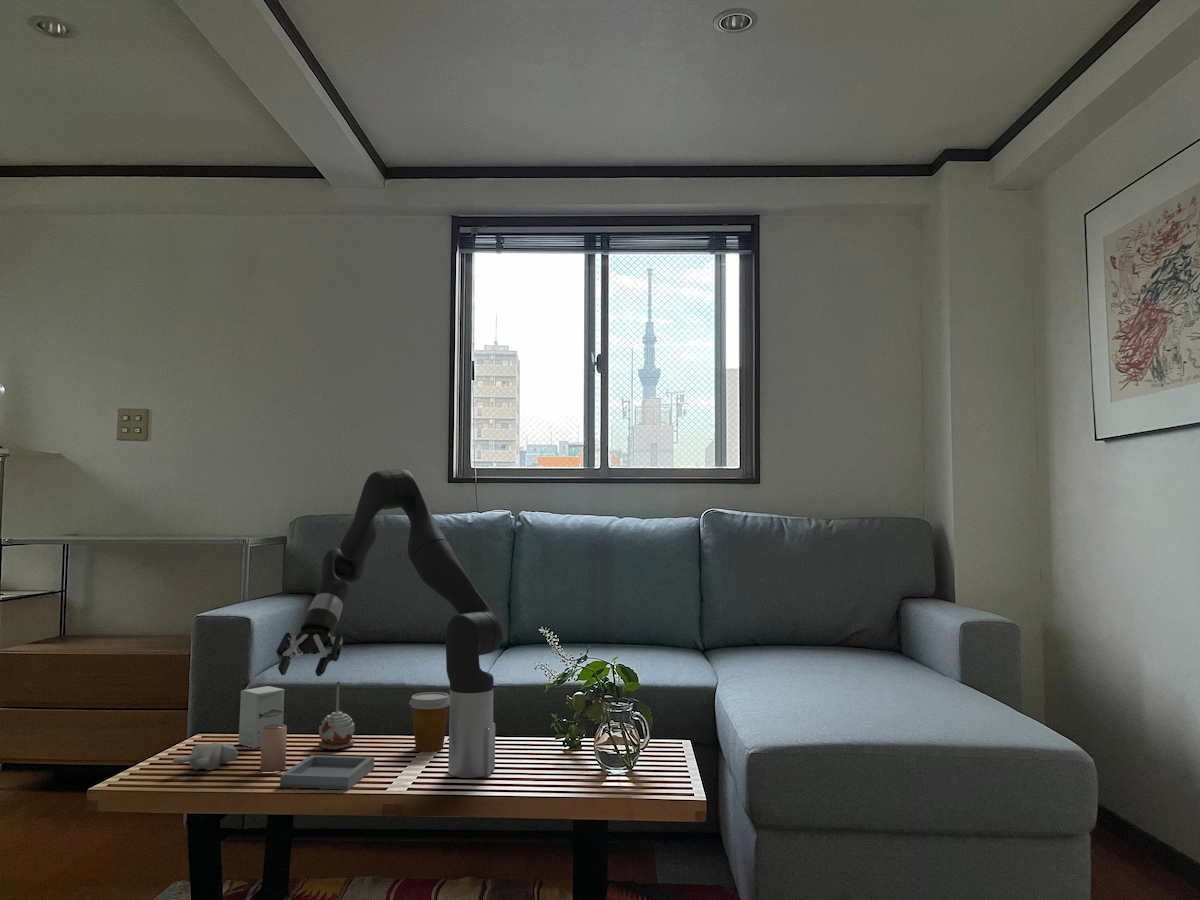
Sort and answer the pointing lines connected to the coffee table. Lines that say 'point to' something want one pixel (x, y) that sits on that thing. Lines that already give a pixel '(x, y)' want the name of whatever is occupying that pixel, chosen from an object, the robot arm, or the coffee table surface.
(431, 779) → the coffee table surface
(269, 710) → the supplement box
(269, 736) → the tumbler
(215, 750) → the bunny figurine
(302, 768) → the tray
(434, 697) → the disposable coffee cup
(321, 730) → the caramel apple
